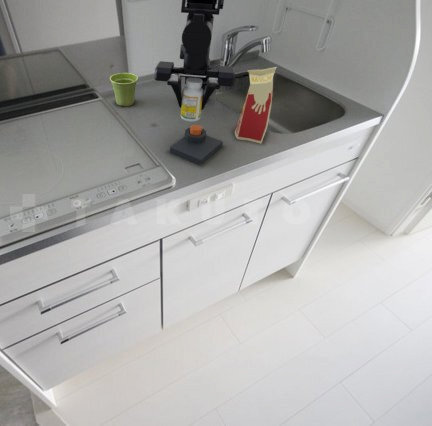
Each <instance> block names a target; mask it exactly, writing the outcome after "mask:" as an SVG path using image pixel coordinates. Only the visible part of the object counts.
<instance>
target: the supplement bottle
mask: <svg viewBox="0 0 432 426" xmlns="http://www.w3.org/2000/svg"><path fill="white" fill-rule="evenodd" d="M201 87H202V79H200V78H192V77H189V78H187V79H186V84H185V87H183V89H182V102H181V108H180V118H181V119H182V120H183V121H185V122H191V123H192V122H197V121H199V120H200V119H201V118H202V117H201V116H202V102H203V95H204V94H205V91H203V89H202V88H201Z"/></svg>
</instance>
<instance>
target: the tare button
mask: <svg viewBox="0 0 432 426" xmlns="http://www.w3.org/2000/svg"><path fill="white" fill-rule="evenodd" d="M190 127H191V128H190V134H192V135H201V131H202V129H203V127H202V126H201V125H200V124H199V125H198V124H193V125H191V126H190Z"/></svg>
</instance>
